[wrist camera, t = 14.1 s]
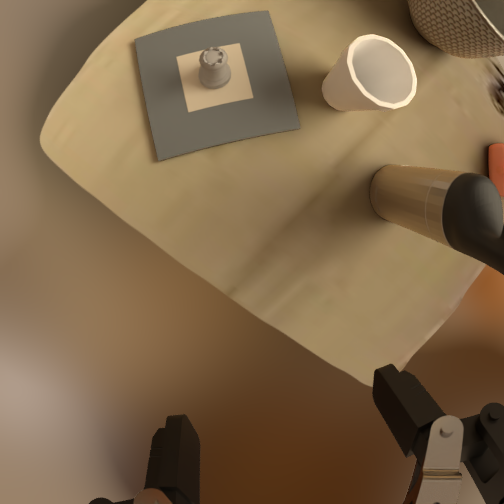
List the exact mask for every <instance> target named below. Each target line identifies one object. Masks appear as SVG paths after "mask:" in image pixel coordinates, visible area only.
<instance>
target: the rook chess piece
mask: <svg viewBox="0 0 504 504" xmlns="http://www.w3.org/2000/svg"><path fill="white" fill-rule="evenodd" d="M227 61H228V56H227V53H226V52H225V51H224V50H223V49H221V48H219V47H209V48H207V49H205V50H204V51H203V52H202V53H201V55H200V58H199V62H200V64H201V67H200V69H199V74H198V75H199V76H198V77H199V80H200V83H201V84H202V85H203V86H204V87H207V88H209V89H218V88H222V87H224V86H225V85H226V84H228V82H229V80H230V79H231V69H230V67H229V65H228V64H227Z"/></svg>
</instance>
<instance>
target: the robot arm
mask: <svg viewBox="0 0 504 504" xmlns="http://www.w3.org/2000/svg"><path fill="white" fill-rule="evenodd" d="M370 200H371V204H372V206H373V209H374V210H375V212H376V213H377V214H378V215H379V216H380V217H382V218H383V219H385V220H388V221H390V222H393V223H395V224H398V225H400V226H402V227H405V228H407V229H410V230H412V231H414V232H417V233H419V234H421V235H424V236H426V237H428V238H431V239H433V240H435V241H437V242H440V243H442V244H444V245H446V246H449V247H451V248H453V249H455V250H457V251H459V252H461V253H464V254H466V255H468V256H471V257H473V258H475V259H477V260H479V261H481V262H483V263H485V264H487V265H489V266H490V267H492V268H494V269H495V270H497V271H499V272H500V273H502V274H503V275H504V226H503V209H502V202H501V198H500V194H499V192H498V190H497V188H496V186H495V184H494V183H493V182H492V181H491V180H490V179H489V178H487V177H486V176H483V175H480V174H475V173H467V172H460V171H451V170H443V169H434V168H425V167H414V166H403V165H387V166H385V167H383V168H381V169H380V170H379V171H378V172H377V173H376V174H375V176H374V178H373V180H372V183H371V186H370ZM372 394H373V399H374V402H375V405H376V407H377V408H378V410H379V411H380V413H381V415H382V417H383V418H384V420H385V422H386V424H387V425H388V427H389V429H390V430H391V432H392V434H393V436H394V437H395V439H396V441H397V443H398V444H399V446H400V448H401V449H402V451H403V453H404V455H405V457H406V458H407V457H409V456H411V455H413V454H414V455H415V456H416V458H417V460H416V463H415V467H414V471H413V474H412V478H411V481H410V484H409V488H408V491H407V494H406V497H405V499H404V501H403V503H402V504H457V501H458V496H459V491H460V487H461V481H462V474H461V473H459V465H460V462H463V463H464V464H465V466H466V468H467V470H468V471H469V473H470V475H471V477H472V478H473V480H474V482H475V484H476V486H477V488H478V489H479V491H480V493H481V495H482V497H483V499H484V501H485V503H486V504H504V406H503V405H501V404H499V403H490V404H487V405H486V406H484V407H483V409H482V410H481V412H480V414H478V415H474V416H471V417H467V418H464V419H458V418H456V417H454V416H447V415H446V414H445V413H444V412H443V411H442V410H441V408H440V407H439V406H438V405H437V403H436V402H435V401H434V399H433V398H432V397H431V396H430V394H429V393H428V392H427V391H426V389H425V388H424V387H423V386H422V385H421V383H420V382H419V381H418V379H417V378H416V377H415V376H414V375H412V374H411V373H409V372H407V371H402V372H400V373H399V371H398V370H397V369H396V367H395V366H394V365H393V364H389V365H386V366H384V367H381V368H378V369H376V370H375V372H374V381H373V392H372ZM89 504H200V441H199V437H198V434H197V432H196V431H195V429H194V428H193V426H192V424H191V422H190V420H189V419H188V417H187V416H186V415H185V414H183V415H173V416H168V417H167V420H166V426H165V428H159V429H158V430H157V432H156V433H155V435H154V436H153V438H152V445H151V450H150V458H149V462H148V469H147V475H146V482H145V487H144V489H143V490H142V491H140V492H139V493H138V494H137V495H136V497H135V498H133V499H131V500H126V501H121V502H115V503H113V502H111V501H110V500H108V499H106V498H96V499H94V500H92V501H91V502H90V503H89Z"/></svg>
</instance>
